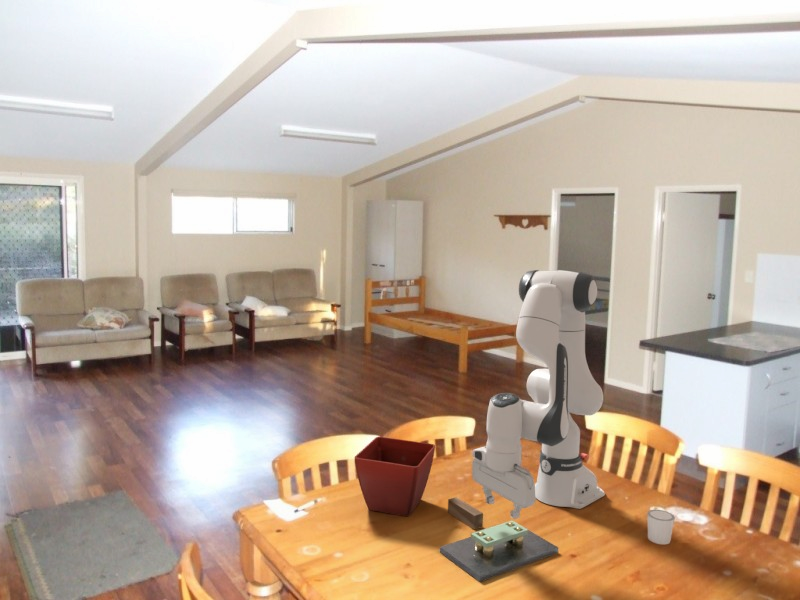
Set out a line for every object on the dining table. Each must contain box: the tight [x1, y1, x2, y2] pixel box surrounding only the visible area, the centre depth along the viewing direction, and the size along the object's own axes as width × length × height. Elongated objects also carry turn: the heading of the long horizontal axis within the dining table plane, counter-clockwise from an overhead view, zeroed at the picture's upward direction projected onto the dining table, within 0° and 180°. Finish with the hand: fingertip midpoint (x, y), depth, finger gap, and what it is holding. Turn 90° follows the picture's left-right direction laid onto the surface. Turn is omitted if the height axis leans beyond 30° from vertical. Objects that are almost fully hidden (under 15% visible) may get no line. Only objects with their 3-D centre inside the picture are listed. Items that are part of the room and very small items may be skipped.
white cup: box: [646, 509, 675, 545], centre depth 179 cm, size 7×7×7 cm
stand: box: [447, 496, 484, 530], centre depth 189 cm, size 3×12×4 cm, turn 33°
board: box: [470, 520, 529, 548], centre depth 170 cm, size 14×6×1 cm, turn 123°
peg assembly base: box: [439, 521, 559, 583], centre depth 170 cm, size 26×16×6 cm, turn 123°
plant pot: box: [354, 436, 436, 517], centre depth 196 cm, size 19×19×17 cm
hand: (502, 510), depth 170 cm, fingers open, 8 cm apart
